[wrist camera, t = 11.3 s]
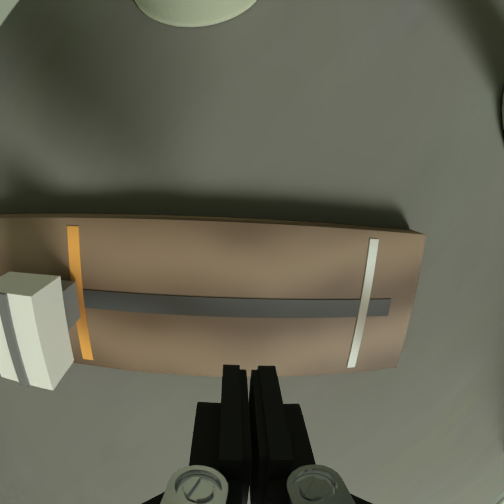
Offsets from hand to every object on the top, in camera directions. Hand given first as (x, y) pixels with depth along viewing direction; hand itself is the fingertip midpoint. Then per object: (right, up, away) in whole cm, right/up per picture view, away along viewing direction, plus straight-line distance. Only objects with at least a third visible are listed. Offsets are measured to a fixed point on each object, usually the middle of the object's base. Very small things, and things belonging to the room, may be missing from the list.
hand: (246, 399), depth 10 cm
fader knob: (-12, +2, +7) cm, 14 cm away
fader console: (-4, +2, +10) cm, 11 cm away
